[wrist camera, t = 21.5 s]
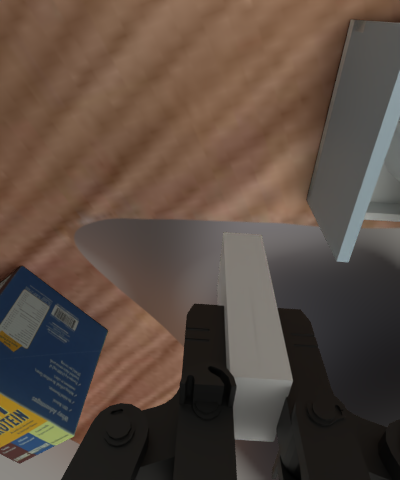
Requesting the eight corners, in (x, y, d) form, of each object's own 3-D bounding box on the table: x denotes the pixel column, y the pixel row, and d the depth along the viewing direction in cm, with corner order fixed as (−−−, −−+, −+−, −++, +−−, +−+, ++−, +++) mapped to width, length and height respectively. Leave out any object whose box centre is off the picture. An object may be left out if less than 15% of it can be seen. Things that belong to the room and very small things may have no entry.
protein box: (64, 359, 56) (20, 465, 43) (-23, 300, 50) (-107, 404, 37) (110, 330, 52) (76, 437, 39) (21, 263, 46) (-54, 364, 33)
